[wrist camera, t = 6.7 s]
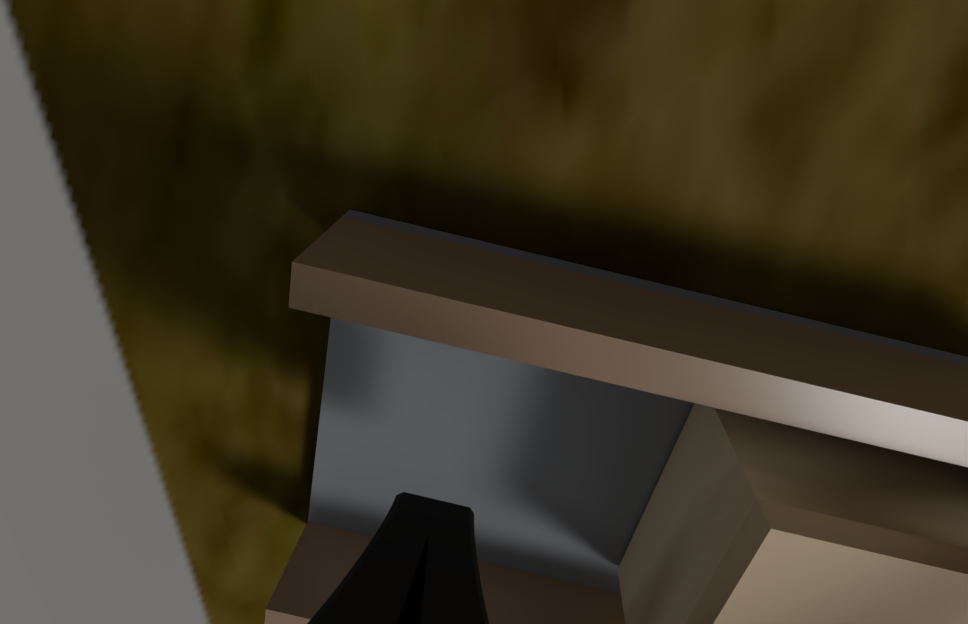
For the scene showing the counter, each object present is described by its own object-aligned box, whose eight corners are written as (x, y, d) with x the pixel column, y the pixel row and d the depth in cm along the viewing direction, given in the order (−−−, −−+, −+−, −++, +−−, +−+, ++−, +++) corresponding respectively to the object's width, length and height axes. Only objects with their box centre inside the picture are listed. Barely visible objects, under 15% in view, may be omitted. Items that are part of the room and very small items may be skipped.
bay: (1019, 369, 12) (1163, 468, 9) (814, 644, 16) (872, 770, 13) (350, 209, 12) (292, 261, 9) (312, 528, 15) (264, 632, 13)
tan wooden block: (943, 436, 12) (1119, 610, 8) (813, 617, 14) (905, 810, 11) (700, 379, 12) (770, 528, 8) (612, 570, 14) (636, 749, 11)
